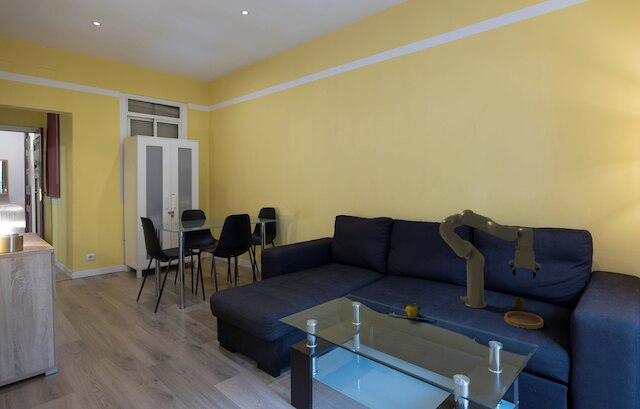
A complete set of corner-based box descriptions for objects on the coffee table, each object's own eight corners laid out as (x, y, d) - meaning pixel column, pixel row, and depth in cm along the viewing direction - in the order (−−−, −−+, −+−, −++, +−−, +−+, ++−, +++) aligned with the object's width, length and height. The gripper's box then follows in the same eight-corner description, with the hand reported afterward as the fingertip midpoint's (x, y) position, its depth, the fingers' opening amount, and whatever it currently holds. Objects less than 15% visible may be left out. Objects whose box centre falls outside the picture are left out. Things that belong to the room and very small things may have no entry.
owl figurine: (384, 304, 203) (392, 296, 216) (385, 319, 203) (392, 310, 216) (433, 311, 189) (438, 303, 202) (434, 327, 190) (438, 317, 203)
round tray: (503, 325, 187) (503, 321, 187) (504, 312, 204) (504, 309, 203) (544, 331, 178) (544, 327, 178) (542, 318, 194) (542, 314, 194)
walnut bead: (514, 311, 205) (514, 299, 204) (514, 308, 209) (514, 296, 208) (524, 313, 202) (524, 300, 202) (523, 310, 207) (523, 298, 206)
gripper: (507, 248, 203) (506, 276, 205) (542, 251, 193) (541, 281, 195) (509, 245, 209) (508, 273, 211) (542, 249, 199) (541, 277, 201)
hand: (523, 276), depth 203 cm, fingers open, 9 cm apart
